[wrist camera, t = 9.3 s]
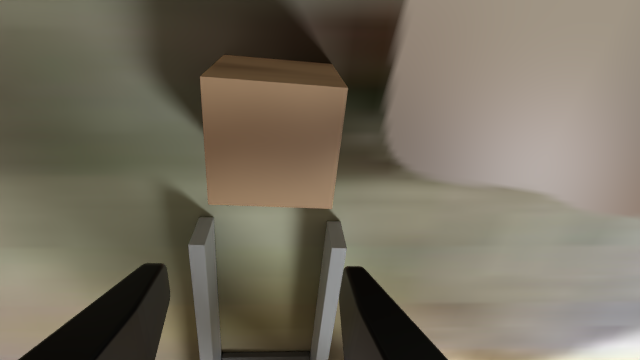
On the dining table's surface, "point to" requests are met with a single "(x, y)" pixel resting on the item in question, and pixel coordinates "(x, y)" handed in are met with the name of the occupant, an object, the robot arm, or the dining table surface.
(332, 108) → the block
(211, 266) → the channel
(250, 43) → the dining table surface
